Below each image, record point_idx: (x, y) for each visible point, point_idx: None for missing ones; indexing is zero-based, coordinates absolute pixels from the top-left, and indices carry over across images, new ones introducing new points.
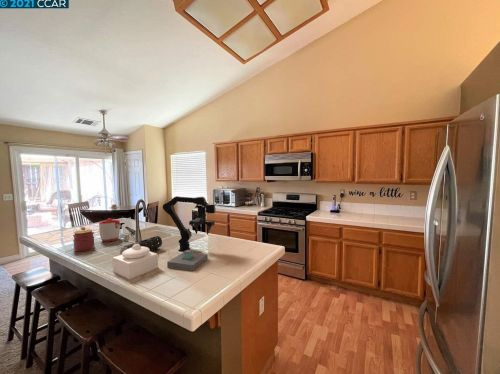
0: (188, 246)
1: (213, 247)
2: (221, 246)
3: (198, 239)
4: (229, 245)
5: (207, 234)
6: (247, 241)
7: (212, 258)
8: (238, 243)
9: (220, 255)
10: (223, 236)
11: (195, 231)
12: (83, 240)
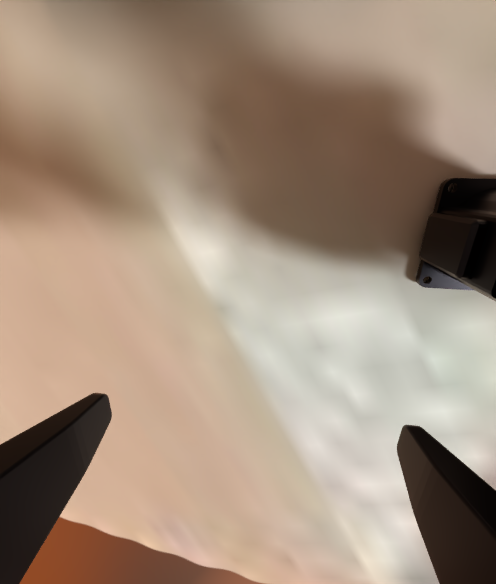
0: (446, 239)
1: (193, 361)
2: (139, 392)
3: None
4: None
5: (91, 396)
6: None
7: (16, 52)
8: None
9: (4, 172)
10: (245, 574)
11: (475, 485)
12: None
